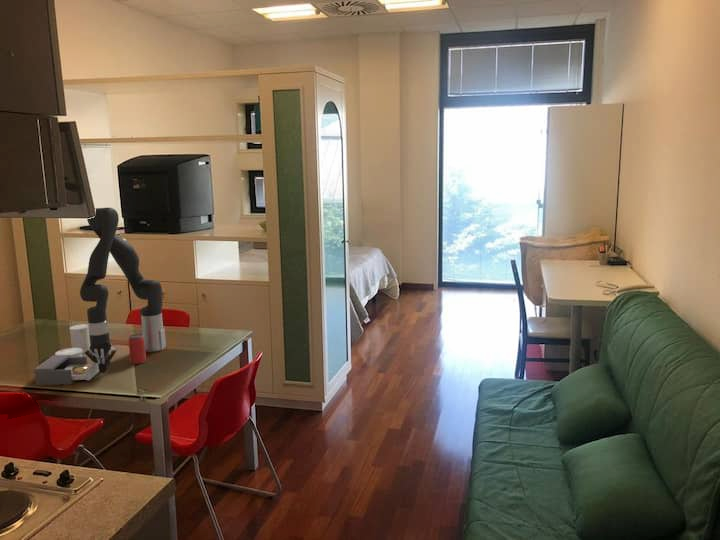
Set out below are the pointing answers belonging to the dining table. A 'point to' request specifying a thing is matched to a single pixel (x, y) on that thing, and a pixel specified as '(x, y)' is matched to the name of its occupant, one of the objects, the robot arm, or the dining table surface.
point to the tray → (88, 374)
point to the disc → (79, 369)
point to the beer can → (137, 349)
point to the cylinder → (107, 357)
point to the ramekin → (70, 352)
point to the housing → (57, 370)
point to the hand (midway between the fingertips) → (103, 371)
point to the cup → (80, 337)
